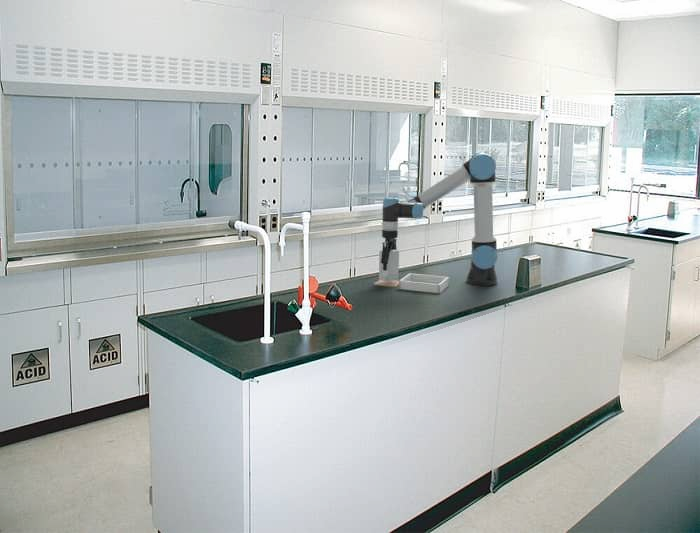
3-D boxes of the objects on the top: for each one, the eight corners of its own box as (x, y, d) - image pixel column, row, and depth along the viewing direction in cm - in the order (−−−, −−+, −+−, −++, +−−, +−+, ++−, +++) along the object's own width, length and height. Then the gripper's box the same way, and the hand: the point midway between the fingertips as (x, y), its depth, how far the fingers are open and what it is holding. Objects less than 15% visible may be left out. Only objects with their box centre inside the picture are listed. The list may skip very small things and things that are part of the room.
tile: (402, 282, 344) (402, 281, 344) (395, 287, 334) (395, 285, 334) (381, 280, 348) (381, 278, 348) (374, 284, 338) (374, 283, 338)
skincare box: (391, 277, 345) (392, 248, 342) (399, 280, 341) (400, 250, 337) (378, 279, 341) (378, 249, 338) (385, 282, 336) (386, 251, 333)
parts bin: (448, 285, 340) (449, 277, 339) (439, 293, 324) (439, 285, 323) (409, 280, 347) (410, 273, 347) (398, 288, 331) (399, 280, 330)
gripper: (390, 225, 347) (388, 269, 352) (374, 232, 327) (373, 278, 331) (404, 226, 344) (403, 270, 349) (389, 233, 324) (388, 279, 329)
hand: (388, 274), depth 340 cm, fingers closed on skincare box, 10 cm apart
